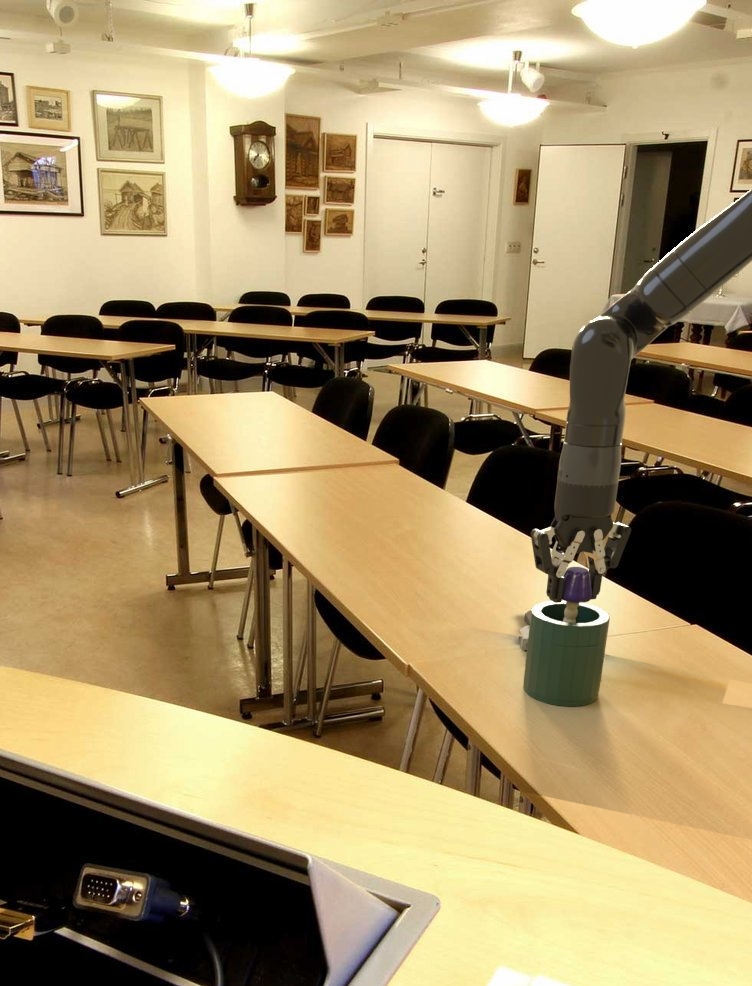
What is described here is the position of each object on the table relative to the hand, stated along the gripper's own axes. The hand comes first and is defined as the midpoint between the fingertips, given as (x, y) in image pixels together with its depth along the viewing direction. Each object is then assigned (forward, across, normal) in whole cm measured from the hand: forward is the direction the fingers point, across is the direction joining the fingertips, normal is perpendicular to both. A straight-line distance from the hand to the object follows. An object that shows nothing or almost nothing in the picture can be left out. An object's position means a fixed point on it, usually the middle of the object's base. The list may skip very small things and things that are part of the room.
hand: (572, 598), depth 126 cm
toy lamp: (+13, 0, 0) cm, 13 cm away
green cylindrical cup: (+14, 0, 0) cm, 14 cm away
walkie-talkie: (+14, +6, +15) cm, 22 cm away
